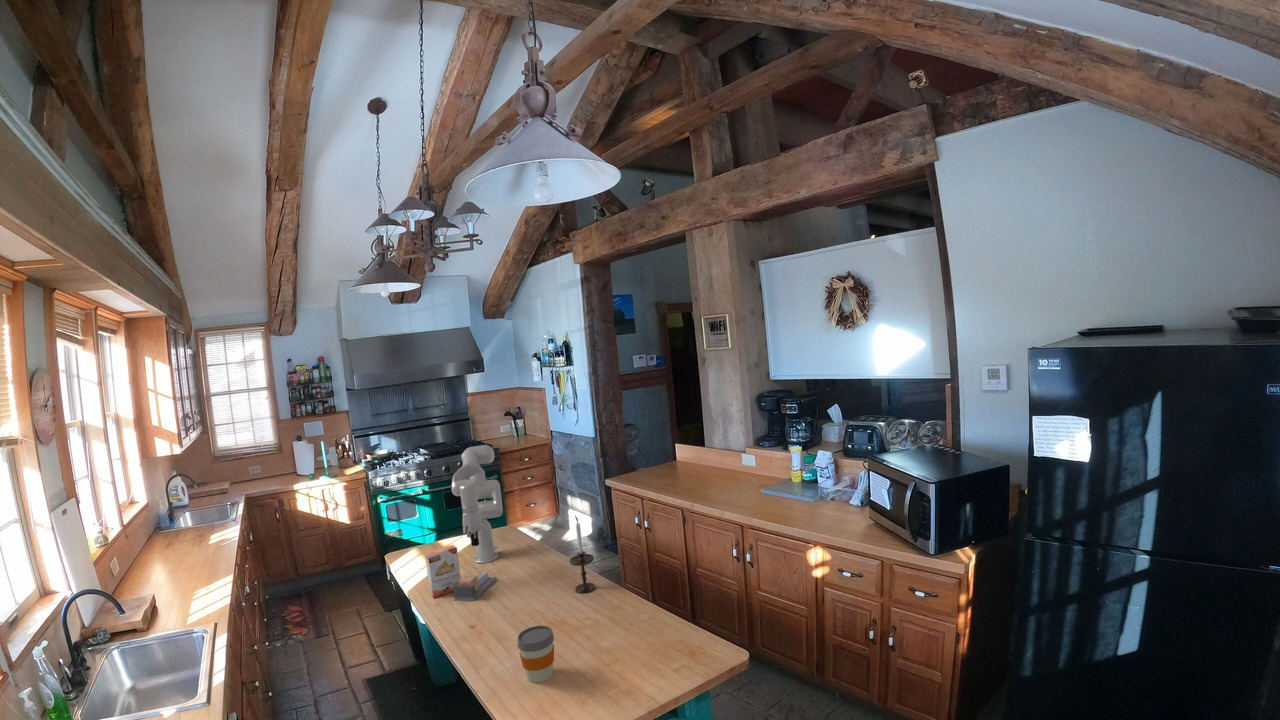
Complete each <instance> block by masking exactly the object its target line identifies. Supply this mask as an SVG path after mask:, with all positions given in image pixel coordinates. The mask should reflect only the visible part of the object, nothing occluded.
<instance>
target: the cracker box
mask: <svg viewBox="0 0 1280 720" xmlns="http://www.w3.org/2000/svg"><path fill="white" fill-rule="evenodd" d="M458 555H459V554H458V548H457V546H455V545H454V544H452V545H448V546H445V547H442V548H438V549H433V550H431V551H427V552H425V553H424V556H425V557H424V558H425V565H426V573H427V574H426V575H427V580H428V589H429V595H430V596H431V597H432V598H433V599H434V598H435V599H436V598H437V597H441V596H443V595H446V594H449V593H452V592H453V593H454V591H453V587H454V586H455V585H459V582H458V581H459V580H461V579H462V578H461V570H460V564H459V563H460V562H459V561H460V560H459V556H458Z"/></svg>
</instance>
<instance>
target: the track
mask: <svg viewBox="0 0 1280 720" xmlns="http://www.w3.org/2000/svg"><path fill="white" fill-rule="evenodd" d="M488 572H489V571H483V572H481V574H479V575H477V581H478V590H477V591H476V592H475V586H474V585H455V586H454V587H453V597H454V598H453V599H454V601H456V602H457V601H458V602H460V601H461V602H463V601H464V602H465V601H466V602H467V601H468V602H475V600H477V599H478V598H479V597H481V595H482V594H483V593H484V592H485V591H487V590H488V589H489V588H490V587H491V586H492V585H493V584H494V583H495V582H496V581H497V579H498V578H497V577H496V576H489V573H488Z"/></svg>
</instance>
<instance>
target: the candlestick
mask: <svg viewBox="0 0 1280 720" xmlns="http://www.w3.org/2000/svg"><path fill="white" fill-rule="evenodd" d="M574 517H575V520H576V524H575V530H576V537H577V545H578V552H577V553H576V555H574V556H571V558H570V559H569V562H570V564H571V565H572V566H578V567H579V566H580V567H581V568H580V569H581V571H580V576H581V580H582V583H580V584H578V585H577V586H576V587H575V589H574V590H575V593H577V594H580V595H581V594H588V593H592V592H594V590H595V589H596V585H595V584H594V582H587V579H588V577H587V571H586V570H585V565H588V564H589V565H590V563H593V561H594V560H595V558H594V555H593V554H590V553H586V551H584V548H583V541H582V533H581V524H580V523H579V519H578V517H577V516H576V515H574Z"/></svg>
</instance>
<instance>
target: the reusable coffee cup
mask: <svg viewBox="0 0 1280 720" xmlns="http://www.w3.org/2000/svg"><path fill="white" fill-rule="evenodd" d="M554 638H555V637H554V633H553V629H552V628H551V627H549V626H547V625H535V626H534V625H533V626H530V627H527V628H526V629H524V630H522V631H520V633H519V634H518V635H517V648H518V649H519V657H520V661H521V665H522V668H523V669H524V670H525V676H526V679H527V681H528V682H529V683H532V684H540V682H541V683H544V682H547V681H548V680H549V679H550V678H552V676H553V674H554V673H553V672H554V671H553V670H554V660H555V645H554V640H555V639H554Z"/></svg>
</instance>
